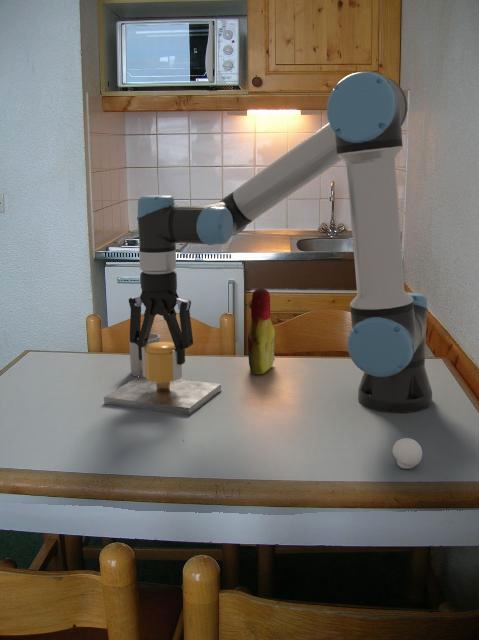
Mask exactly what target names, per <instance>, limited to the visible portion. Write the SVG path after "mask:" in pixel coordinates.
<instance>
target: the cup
mask: <svg viewBox="0 0 479 640" xmlns="http://www.w3.org/2000/svg"><path fill="white" fill-rule="evenodd" d="M128 338H129V340H128V341H129V342H128V343H129V358H130V359H129V361H130V362H129V363H130V372H131V374H132V375H133V376H134V375H135V377H138V376H141V375H143V368H142V360H139V351H138V345H137V344H135V343H131V342H130V336H129V337H128ZM148 341H149V342H148V343H147V344H151V343H156V342H161V335H160V334H158V333H153V332H150V335H149V338H148ZM147 344H146V345H147Z"/></svg>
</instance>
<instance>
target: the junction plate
mask: <svg viewBox="0 0 479 640" xmlns="http://www.w3.org/2000/svg"><path fill="white" fill-rule="evenodd" d="M221 391H222V384H221V383H214V382H206V381H205V382H204V381H197V380H187V379H181V378H180V379H178V380H174V381H170V382H163V383H159V382H151V381H149V380H148V379H147V378H146V377H143V375H141V376H139V377H138V376H136V378H134V379H132V380H131V381H129V382H127V383H126V384H124V385H122V386H120V387H118V388H117V389H115V390H114V391H112V392H110V393H108V394H107V395H105V396H103V404H104V405H109V406H110V405H111V406H118V407H125V408H127V407H128V408H134V409H141V410H149V411H154V412H155V411H158V412H164V413H165V412H166V413H171V414H172V413H173V414H179V415H186V416H190V415H191V414H193V413H194V412H195V411H197V410H198V409H199V408H200V407H202V406H203V405H204V404H206V403H207V402H208V401H209V400H211V399H212V398H213V397H215V396H216V395H218V394H219V393H220V392H221Z"/></svg>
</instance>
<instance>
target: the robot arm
mask: <svg viewBox="0 0 479 640" xmlns="http://www.w3.org/2000/svg"><path fill="white" fill-rule="evenodd" d="M407 114H408V98H407V96H406V93H405V91H404V90H403V87H401V86H400V85H399V84H398V83H397V82H396V81H395V80H393V79H391V78H389V77H386V76H385V75H382V74H381V73H378V72H377V71H376V72H374V71H359V72H355V73H351V74H348V75H347V76H345V77H343V78H342V79H341V80H340V81H339V82H337V84H336V85H335V86H334V88H333V89H332V90H331V92H330V95H329V96H328V99H327V104H326V116H327V120H328V123H326V124H325V125H323V126H322V127H320V128H319V129H318V130H317V131H315V132H314V133H313V134H311V135H310V136H308V137H306V139H304V140H303V141H301V142H300V143H298V144H297V145H295V146H294V147H293V148H292V149H290V150H289V151H287V152H286V153H285V154H283V155H282V156H280V157H279V158H277V160H275V161H273V162H272V163H271V164H269V165H268V166H266V167H265V168H264V169H262V170H261V171H259V173H257V174H255V175H254V176H252V178H250V179H249V180H247V181H246V182H244V183H243V184H241V185H240V186H239V187H237V188H236V189H234V190H233V191H232V192H231V193H229V194H227V196H224V198H222V199H220V200H219V201H218V202H213V203H210V204H205V205H176V202H175V198H174V197H173V195H169V194H168V195H167V194H148V195H142V196H140V197H139V199H138V201H137V218H136V220H137V226H138V227H137V228H138V244H139V246H138V248H139V249H138V251H139V252H138V253H139V255H138V256H139V269H140V270H141V272H140V274H139V276H140V288H141V289H140V290H141V293H140V295H135V296H132V297H130V298H128V303H129V307H130V317H129V318H130V320H129V321H130V322H129V337H130V342H131V343H135V344H137V345H138V351H139V360H142V368H143V377H146V370H145V350H146V344H147V343H148V342H149V341H148V338H149V335H150V333H151V331H152V327H153V324H154V320H155V317H156V316H157V315H158V316H162V317H163V320H164V321H165V322H166V325H167V328H168V330H169V334H170V337H171V339H172V343H174V345H175V348H176V349H174V350H172V356H173V380H178V379H180V380H181V379H182V378H183V368H182V367H183V365H184V364H185V362H186V349H188V348H190V347H191V346H193V345H194V336H193V330H192V329H193V328H192V322H191V313H190V312H191V311H190V310H191V306H192V301H191V300H190V299H186V300H185V299H182V298H180V297H179V295H178V292H177V290H178V289H177V288H178V281H177V280H178V276H177V275H178V274H177V273H178V272H176V271H175V269H176V268H177V256H176V255H177V253H176V251H177V250H176V249H177V248H176V247H177V245H176V244H191V245H192V244H193V245H195V244H196V245H208V246H215V245H226V244H227V243H229V240H230V239H232V238H231V237H232V236H236V235H238V234H240V233H241V232H243V231H244V230H246V228H247V226H249V225H250V224H251V223H252V222H253V221H255V220H256V219H258V218H260V216H262V215H265V213H267V212H268V211H270V210H271V209H273V208H274V207H275V206H277V205H279V204H281V202H283V201H284V200H286V199H288V198H289V197H290V196H291V195H293V194H294V193H296V192H297V191H299V190H301V189H302V188H303V187H305V186H307V184H309V183H310V182H312V181H315V179H316V178H318V177H320V175H322V174H324V173H326V172H327V171H328V170H329V169H331V168H333V167H334V166H336V165H337V164H338V163H340V162H341V161H342V162H344V163H345V165H346V175H347V186H348V187H347V188H348V189H347V190H348V200H349V210H350V213H349V214H350V223H351V233H352V247H353V258H354V259H353V260H354V268H355V269H354V270H355V281H356V282H355V284H356V296H355V297H353V299H352V300H351V302H350V303H349V307H350V318H351V322H350V323H351V329H350V332H349V335H348V338H347V351H348V355H349V357H350V359H351V361H352V362H353V364H354V365H355V366H356V367H357V368H358V369H359V370H360V371H362V372H363V375H362V378H361V380H360V383H359V385H358V389H357V390H358V391H357V392H358V395H357V396H358V397H357V399H358V402H359V403H361V404H362V405H363V406H365V407H368V408H370V409H373V410H377V411H382V412H389V413H411V412H418V411H421V410H425V409H427V408H429V407H430V406H431V405H432V403H433V391H432V386H431V383H430V379H429V377H428V372H427V369H426V367H425V366H426V365H425V364H426V363H425V362H426V343H427V342H426V339H427V312H428V311H429V307H428V300H427V299H428V298H427V297H426V296H425V295H424V294H422V293H418V292H408V291H406V290H405V282H404V270H403V269H404V268H403V255H402V241H401V229H400V225H401V224H400V212H399V200H398V185H397V184H398V183H397V173H396V157H397V156H398V155H399V153H400V152H401V151H402V150H403V148H404V147H403V134H402V132H403V131H402V126H403V124H404V123H405V121H406V118H407ZM142 305H143V306H144V308H145V310H144V312H143V320H142ZM176 306H177V309H178V311H179V313H178V315H179V322H178V319H177V312H176V309H175V307H176ZM141 322H142V324H141ZM147 345H148V344H147Z"/></svg>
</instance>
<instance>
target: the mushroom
mask: <svg viewBox="0 0 479 640" xmlns="http://www.w3.org/2000/svg"><path fill="white" fill-rule="evenodd" d="M391 451H392V454H393V456H394V458H395V459H396V463H397V465H398V466H399V467H400V468H401V469H403V470H409V469H413V468H414V467H416V466H417V465H419V463H420V462H421V460H422V458H423V450H422V447H421V445H420V444H419V442H417V441H416V440H415V439H413V438H409V437H403V438H400V439H398V440H396V441H395V442H394V444H393V446H392V450H391Z"/></svg>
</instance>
